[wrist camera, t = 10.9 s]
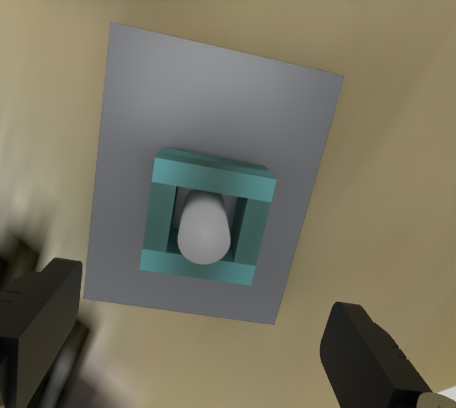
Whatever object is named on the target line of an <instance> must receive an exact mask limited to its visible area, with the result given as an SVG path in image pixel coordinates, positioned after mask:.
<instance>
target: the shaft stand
mask: <svg viewBox="0 0 456 408" xmlns="http://www.w3.org/2000/svg"><path fill="white" fill-rule="evenodd" d="M343 79H344V76H342V75H338V74H334V73H329V72H325V71H321V70H316V69H312V68H308V67H303V66H299V65H295V64H290V63H286V62H282V61H277V60H273V59H269V58H264V57H260V56H256V55H251V54H247V53H243V52H238V51H234V50H230V49H225V48H221V47H217V46H212V45H208V44H204V43H199V42H195V41H191V40H186V39H182V38H178V37H173V36H169V35H165V34H160V33H156V32H152V31H147V30H143V29H139V28H134V27H130V26H126V25H121V24H117V23H113V22H111V24H110V34H109V44H108V54H107V64H106V74H105V84H104V94H103V104H102V115H101V125H100V135H99V145H98V155H97V165H96V175H95V185H94V195H93V205H92V215H91V226H90V236H89V246H88V256H87V266H86V276H85V286H84V296H83V299H89V300H96V301H104V302H111V303H118V304H125V305H133V306H140V307H147V308H154V309H162V310H169V311H176V312H183V313H191V314H198V315H205V316H213V317H220V318H227V319H234V320H242V321H249V322H256V323H263V324H271V325H274V324H275V321H276V317H277V314H278V310H279V307H280V303H281V299H282V296H283V292H284V289H285V285H286V282H287V278H288V275H289V271H290V267H291V264H292V260H293V257H294V253H295V250H296V246H297V243H298V239H299V235H300V232H301V228H302V225H303V221H304V218H305V214H306V211H307V207H308V203H309V200H310V196H311V193H312V189H313V186H314V182H315V178H316V175H317V171H318V168H319V164H320V161H321V157H322V154H323V150H324V146H325V143H326V139H327V136H328V132H329V129H330V125H331V122H332V118H333V114H334V111H335V107H336V104H337V100H338V97H339V93H340V90H341V86H342V82H343ZM163 147H166V148H171V149H176V150H182V151H187V152H193V153H198V154H204V155H209V156H214V157H220V158H225V159H231V160H236V161H241V162H247V163H252V164H258V165H263V166H266V168H267V169H268V170H269V171H270V172H271V173H272V175H273V176H274V177H275V178H276V179H277V180H276V184H275V188H274V193H273V197H272V201H271V205H270V209H269V213H268V217H267V222H266V226H265V230H264V234H263V238H262V242H261V246H260V251H259V255H258V259H257V263H256V267H255V271H254V275H253V280H252V284H251V286H250V285H243V284H236V283H229V282H222V281H215V280H208V279H201V278H194V277H187V276H180V275H173V274H166V273H159V272H152V271H145V270H140V263H141V255H142V248H143V241H144V234H145V226H146V219H147V212H148V205H149V197H150V190H151V183H152V176H153V168H154V161H155V157H156V156H157V154H158V153H159V152H160V151H161V149H162V148H163ZM237 199H238V197H237V196H231V195H226V194H220V193H214V192H208V191H202V190H197V189H191V188H185V187H179V186H178V192H177V199H176V205H175V211H174V217H173V224H172V228H175V229H179V233H178V247H179V249H180V251H181V253H182V254H183V255H184V257H185V258H187V259H188V260H190V261H191V262H194V263H197V264H211V263H214V262H216V261H218V260H220V259H221V258H222V257H223V256H224V255H225V254H226V253H227V251H228V249H229V246H230V232H231V227H232V222H233V218H234V213H235V208H236V203H237Z"/></svg>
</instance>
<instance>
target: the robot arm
mask: <svg viewBox="0 0 456 408" xmlns="http://www.w3.org/2000/svg"><path fill="white" fill-rule="evenodd" d="M81 279H82V262H81V261H75V260H69V259H62V258H54V259H52V261H51V262H50V263H49V264H48V265H47V266H46V267H45V268H44V269H43V270H42V271H41V272H35V271H31V272H28V273H26V274H24V275H22V276H20V277H18V278H15V279H14V280H13V281H12V282H11V283H10V284H9V285H8V286H7V287H6V288H5V289H3V292H0V408H26V406H27V405H28V403H29V401H30V399H31V398H32V396H33V394H34V393H35V391H36V389H37V387H38V386H39V384H40V382H41V381H42V379H43V377H44V375H45V374H46V372H47V370H48V369H49V367H50V365H51V364H52V362H53V360H54V358H55V357H56V355H57V353H58V352H59V350H60V348H61V346H62V345H63V343H64V341H65V340H66V338H67V336H68V335H69V333H70V331H71V329H72V328H73V325H74V323H75V320H76V317H77V314H78V309H79V300H80V289H81ZM320 358H321V362H322V364H323V367H324V369H325V372H326V374H327V376H328V379H329V381H330V383H331V386H332V388H333V391H334V393H335V395H336V398H337V400H338V402H339V405H340V407H341V408H456V402H455V401H454V400H452V399H450V398H448V397H446V396H443V395H441V394H437V393H433V392H432V390H431V389H430V388H429V386H428V385H427V384H426V382H425V381H424V380H423V378H422V377H421V376H420V374H419V373H418V372H417V370H416V369H415V368H414V366H413V365H412V364H411V362H410V361H409V360H407V359H406V356H405V354H404V353H403V352H402V351H401V349H399V348H398V345H397V344H396V343H395V341H394V340H393V339H392V337H391V336H390V335H389V334H388V333H387V332H386V331H385V330H383V329H382V328H381V327H380V326H379V325H377V324H376V323H374V322H373V321H372V320H371V318H370V317H369V316H368V314H367V313H366V311H365V310H364V309H363V307H362V306H361V305H357V304H350V303H344V302H336V303H335V304H334V305H333V307H332V310H331V313H330V316H329V319H328V322H327V325H326V328H325V331H324V334H323V337H322V340H321V344H320Z"/></svg>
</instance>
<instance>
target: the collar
mask: <svg viewBox="0 0 456 408" xmlns="http://www.w3.org/2000/svg"><path fill="white" fill-rule="evenodd" d="M276 180H277V179H276V178H275V177H274V176H273V175H272V173H271V172H270V171H269V170H268V169H267V168H266V166H263V165H258V164H252V163H247V162H241V161H236V160H231V159H225V158H220V157H214V156H209V155H204V154H198V153H193V152H187V151H182V150H176V149H171V148H166V147H163V148H162V149H161V151H160V152H159V153H158V154H157V156H156V157H155V161H154V168H153V176H152V183H151V190H150V197H149V205H148V212H147V219H146V226H145V234H144V241H143V248H142V255H141V263H140V270H145V271H152V272H159V273H166V274H173V275H180V276H187V277H194V278H201V279H208V280H215V281H222V282H229V283H236V284H243V285H250V286H251V284H252V280H253V275H254V271H255V267H256V263H257V259H258V255H259V251H260V246H261V242H262V238H263V234H264V230H265V226H266V222H267V217H268V213H269V209H270V205H271V201H272V197H273V193H274V188H275V184H276ZM178 186H179V187H185V188H191V189H197V190H202V191H208V192H214V193H220V194H226V195H231V196H237V197H238V199H237V203H236V208H235V213H234V218H233V222H232V227H231V232H230V246H229V249H228V251H227V253H226V254H225V255H224V256H223V257H222V258H221V259H220V260H218V261H216V262H214V263H211V264H197V263H194V262H191V261H190V260H188V259H187V258H185V257H184V255H183V254H182V253H181V251H180V249H179V247H178V233H179V229H175V228H172V224H173V217H174V211H175V205H176V199H177V192H178Z"/></svg>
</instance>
